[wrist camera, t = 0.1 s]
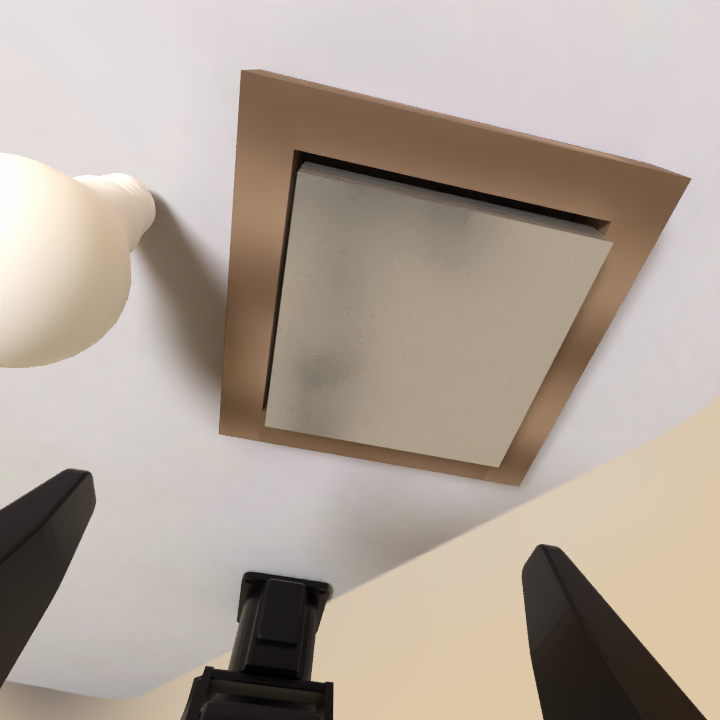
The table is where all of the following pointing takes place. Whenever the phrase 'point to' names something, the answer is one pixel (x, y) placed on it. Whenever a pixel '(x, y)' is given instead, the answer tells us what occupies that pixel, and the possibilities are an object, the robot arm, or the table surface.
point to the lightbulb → (64, 257)
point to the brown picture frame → (431, 162)
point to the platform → (420, 314)
